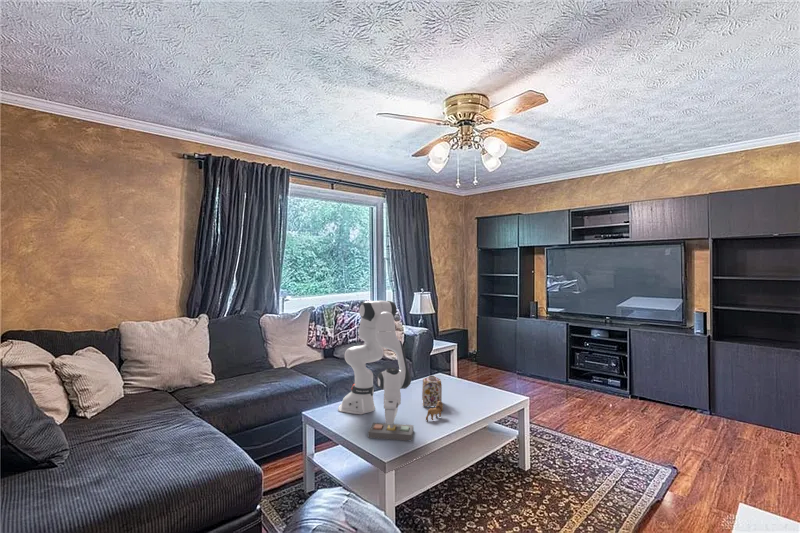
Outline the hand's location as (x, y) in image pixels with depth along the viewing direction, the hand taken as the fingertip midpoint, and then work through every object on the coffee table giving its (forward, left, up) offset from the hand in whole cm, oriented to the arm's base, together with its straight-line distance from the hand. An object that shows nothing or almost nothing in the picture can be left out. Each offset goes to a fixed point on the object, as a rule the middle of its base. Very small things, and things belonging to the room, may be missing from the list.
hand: (391, 426), depth 204 cm
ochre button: (0, 0, -4) cm, 4 cm away
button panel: (0, 0, -4) cm, 4 cm away
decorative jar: (+19, +48, -4) cm, 52 cm away
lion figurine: (+21, +25, -4) cm, 33 cm away
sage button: (+7, 0, -4) cm, 8 cm away
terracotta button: (-7, 0, -4) cm, 8 cm away
